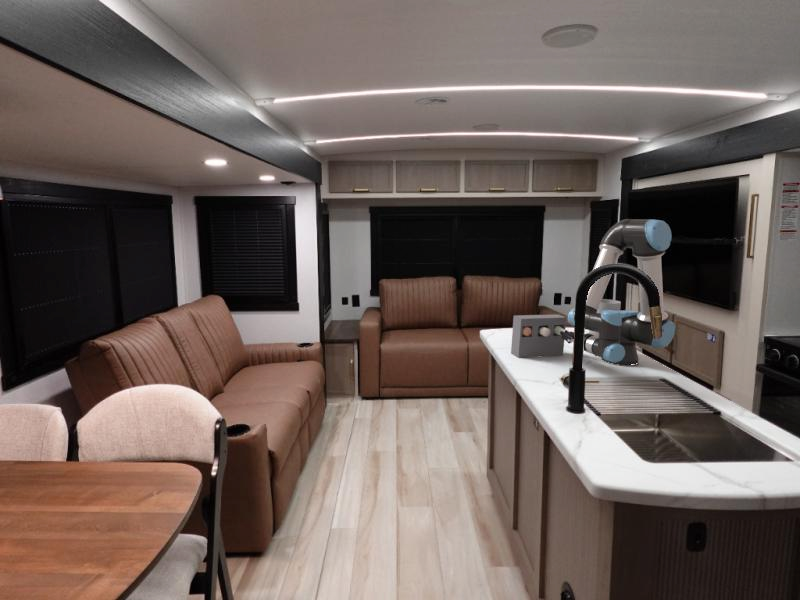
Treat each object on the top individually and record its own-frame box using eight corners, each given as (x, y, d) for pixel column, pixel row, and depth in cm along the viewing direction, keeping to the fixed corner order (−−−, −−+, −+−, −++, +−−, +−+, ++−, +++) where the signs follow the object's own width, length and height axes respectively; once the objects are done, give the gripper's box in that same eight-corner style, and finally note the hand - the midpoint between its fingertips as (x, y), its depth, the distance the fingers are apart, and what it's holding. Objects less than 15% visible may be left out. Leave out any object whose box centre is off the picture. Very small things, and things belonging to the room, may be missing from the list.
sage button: (557, 332, 230) (558, 324, 229) (562, 334, 226) (563, 326, 225) (550, 332, 229) (551, 324, 228) (555, 334, 225) (556, 326, 224)
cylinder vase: (612, 357, 227) (618, 304, 222) (584, 353, 234) (589, 301, 229) (617, 352, 237) (623, 301, 233) (590, 347, 244) (595, 298, 240)
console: (554, 351, 235) (557, 314, 232) (563, 355, 229) (566, 317, 226) (511, 353, 229) (513, 315, 226) (518, 357, 222) (521, 318, 219)
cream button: (545, 334, 225) (545, 326, 225) (550, 336, 221) (550, 328, 221) (537, 334, 224) (538, 326, 224) (542, 336, 220) (543, 328, 220)
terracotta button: (526, 333, 226) (527, 325, 225) (531, 335, 222) (531, 327, 221) (519, 333, 225) (519, 325, 224) (523, 336, 221) (524, 327, 220)
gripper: (577, 353, 201) (545, 339, 224) (604, 352, 205) (570, 338, 227) (579, 335, 200) (547, 323, 222) (606, 334, 204) (572, 322, 226)
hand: (559, 330), depth 225 cm, fingers closed
